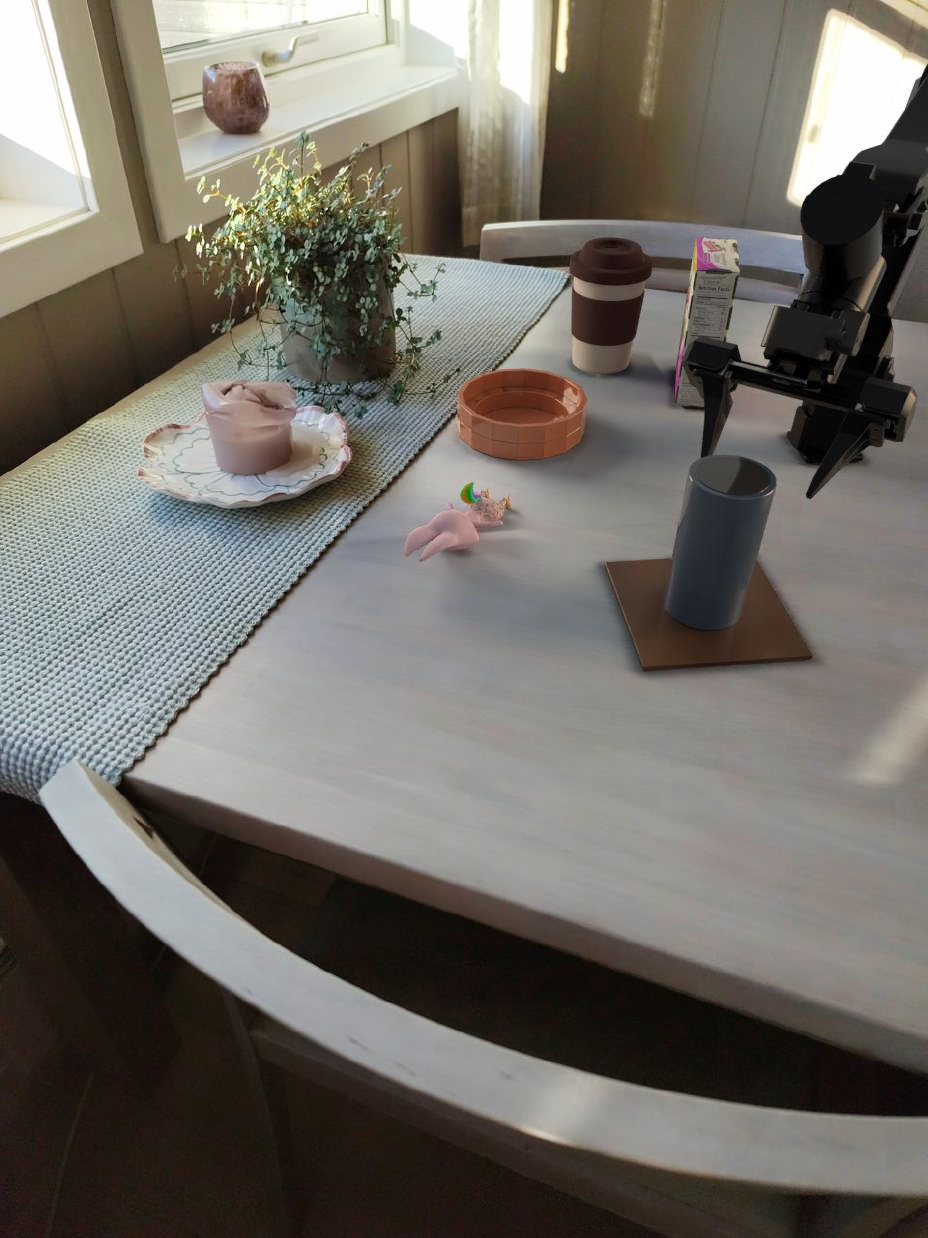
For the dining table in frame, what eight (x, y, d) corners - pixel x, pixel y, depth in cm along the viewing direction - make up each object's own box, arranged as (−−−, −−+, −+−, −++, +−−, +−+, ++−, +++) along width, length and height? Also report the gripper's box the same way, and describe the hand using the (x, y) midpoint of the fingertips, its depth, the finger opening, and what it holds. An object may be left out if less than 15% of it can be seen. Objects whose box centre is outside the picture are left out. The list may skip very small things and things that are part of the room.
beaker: (672, 575, 78) (697, 446, 69) (747, 592, 76) (782, 462, 68) (656, 619, 73) (681, 487, 65) (735, 638, 71) (771, 505, 63)
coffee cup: (619, 388, 108) (634, 264, 98) (548, 369, 112) (556, 249, 102) (650, 359, 114) (667, 241, 104) (582, 343, 118) (593, 227, 108)
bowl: (569, 401, 105) (572, 366, 102) (594, 460, 94) (598, 423, 91) (453, 406, 104) (452, 370, 101) (464, 466, 93) (464, 429, 90)
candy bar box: (673, 368, 112) (695, 235, 102) (712, 371, 111) (738, 238, 101) (671, 407, 104) (695, 267, 93) (714, 411, 103) (742, 270, 92)
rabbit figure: (470, 510, 89) (383, 563, 78) (475, 455, 86) (385, 503, 75) (522, 528, 87) (441, 586, 75) (530, 473, 83) (446, 525, 72)
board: (751, 557, 81) (752, 553, 80) (811, 659, 70) (813, 655, 70) (604, 566, 80) (604, 561, 79) (642, 671, 69) (643, 666, 69)
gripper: (710, 237, 70) (632, 416, 70) (958, 284, 62) (868, 486, 62) (728, 304, 80) (659, 460, 80) (943, 352, 72) (866, 525, 72)
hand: (754, 480), depth 73 cm, fingers open, 9 cm apart
